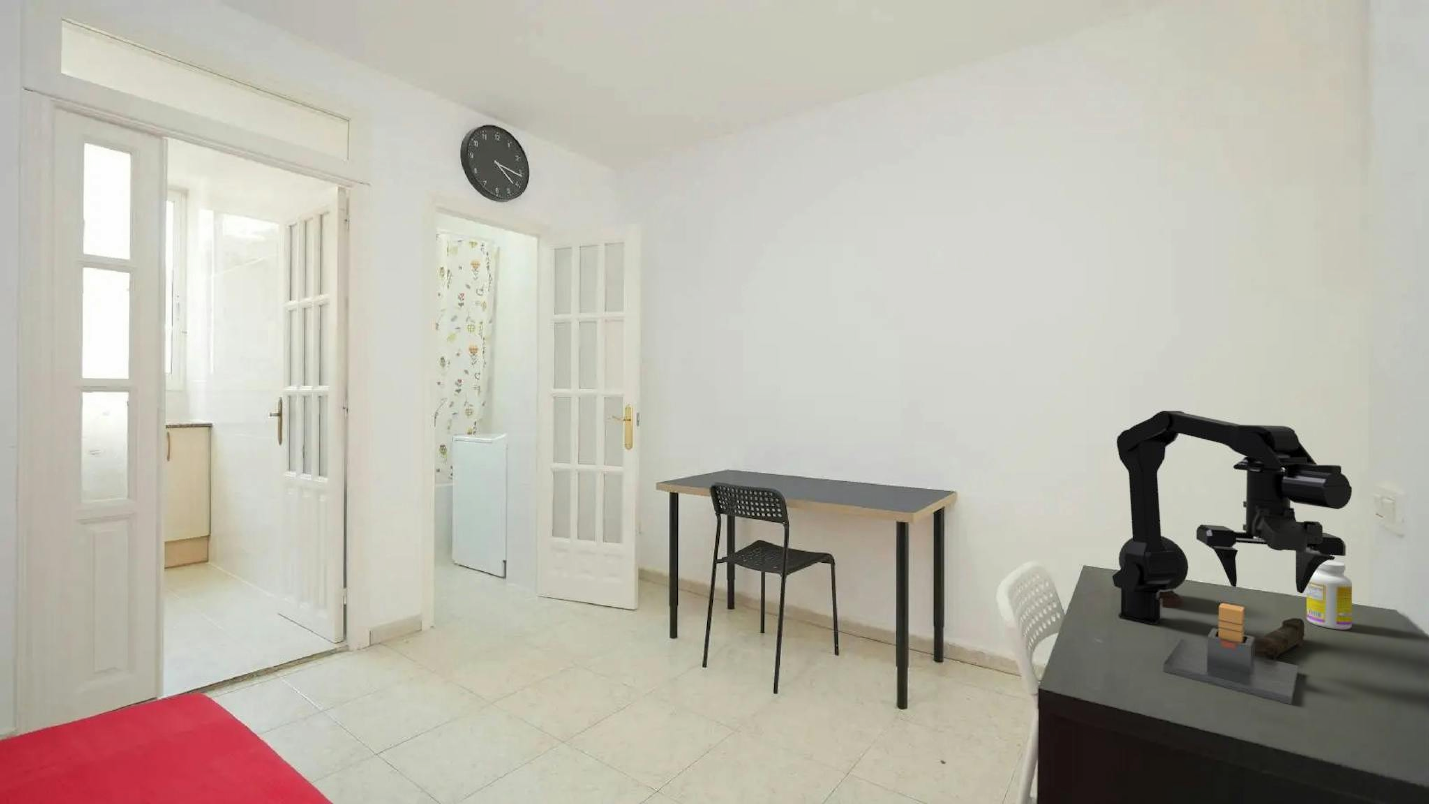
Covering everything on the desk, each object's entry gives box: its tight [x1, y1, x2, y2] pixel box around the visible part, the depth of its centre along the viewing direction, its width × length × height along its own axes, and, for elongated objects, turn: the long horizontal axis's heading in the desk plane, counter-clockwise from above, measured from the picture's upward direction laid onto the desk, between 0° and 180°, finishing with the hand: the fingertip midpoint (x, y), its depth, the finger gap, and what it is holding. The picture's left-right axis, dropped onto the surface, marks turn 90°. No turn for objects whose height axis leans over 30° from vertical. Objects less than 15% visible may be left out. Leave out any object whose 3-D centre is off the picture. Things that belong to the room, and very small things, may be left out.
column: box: [1217, 602, 1245, 643], centre depth 106 cm, size 3×3×10 cm
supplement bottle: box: [1306, 560, 1353, 631], centre depth 130 cm, size 7×7×13 cm
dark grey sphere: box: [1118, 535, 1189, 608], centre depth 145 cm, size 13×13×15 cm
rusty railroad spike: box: [1254, 617, 1306, 661], centre depth 116 cm, size 19×4×5 cm, turn 119°
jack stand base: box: [1162, 627, 1299, 705], centre depth 107 cm, size 16×16×6 cm
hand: (1266, 589), depth 108 cm, fingers open, 9 cm apart
